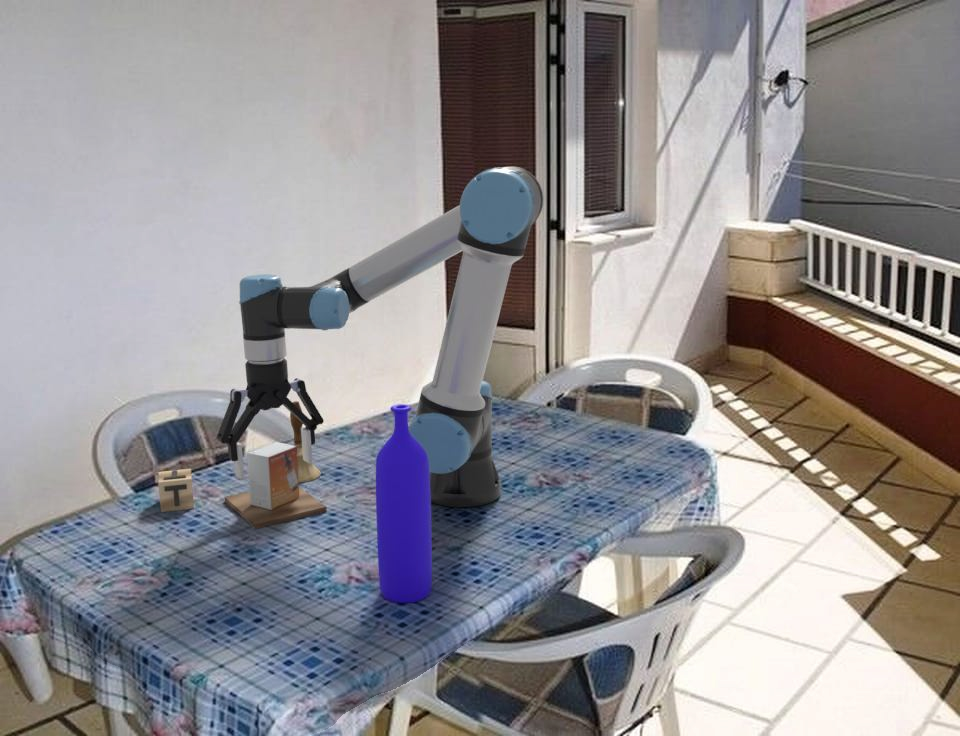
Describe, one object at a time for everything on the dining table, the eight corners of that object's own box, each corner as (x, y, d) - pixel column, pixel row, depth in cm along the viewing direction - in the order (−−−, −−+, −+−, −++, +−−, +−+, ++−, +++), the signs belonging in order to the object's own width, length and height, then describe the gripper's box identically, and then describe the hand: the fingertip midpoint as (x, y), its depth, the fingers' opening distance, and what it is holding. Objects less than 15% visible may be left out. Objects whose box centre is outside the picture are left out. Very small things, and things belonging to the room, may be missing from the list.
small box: (271, 511, 180) (267, 457, 177) (249, 505, 183) (245, 452, 180) (300, 497, 186) (297, 445, 184) (279, 492, 189) (276, 440, 187)
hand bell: (272, 480, 199) (267, 405, 195) (294, 467, 206) (290, 395, 203) (307, 485, 196) (303, 409, 192) (328, 472, 203) (324, 398, 200)
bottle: (425, 607, 145) (420, 415, 138) (372, 602, 147) (365, 412, 140) (438, 582, 153) (434, 400, 146) (388, 578, 155) (382, 397, 148)
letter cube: (194, 509, 184) (191, 478, 183) (161, 512, 182) (158, 481, 181) (193, 497, 190) (190, 467, 188) (161, 501, 188) (158, 470, 187)
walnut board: (326, 511, 182) (326, 506, 182) (255, 528, 174) (255, 523, 174) (292, 486, 195) (292, 482, 195) (224, 501, 187) (224, 496, 187)
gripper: (319, 346, 188) (326, 450, 193) (192, 366, 174) (203, 477, 179) (336, 353, 181) (343, 460, 186) (206, 373, 168) (217, 488, 173)
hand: (274, 468), depth 183 cm, fingers open, 13 cm apart
